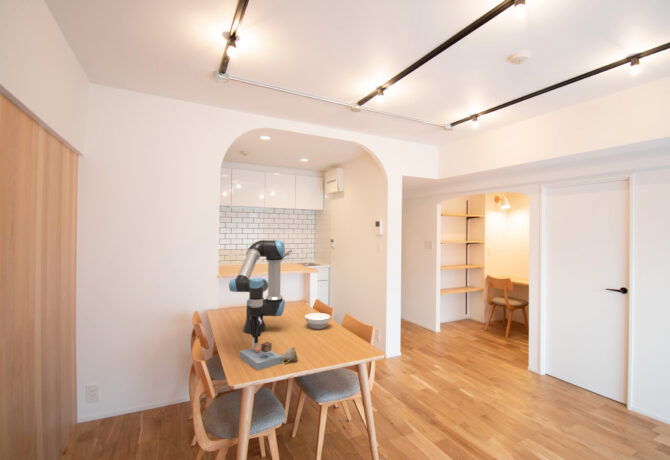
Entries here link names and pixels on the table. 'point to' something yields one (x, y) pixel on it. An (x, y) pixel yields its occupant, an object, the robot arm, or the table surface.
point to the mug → (289, 355)
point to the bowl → (317, 320)
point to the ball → (257, 349)
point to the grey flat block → (260, 358)
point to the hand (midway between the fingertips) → (254, 348)
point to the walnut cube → (266, 347)
